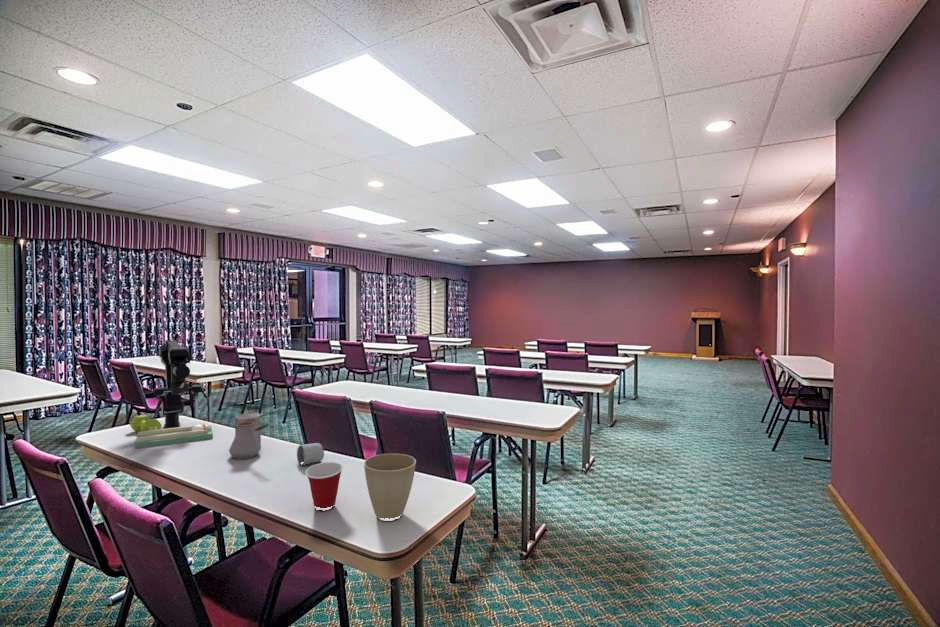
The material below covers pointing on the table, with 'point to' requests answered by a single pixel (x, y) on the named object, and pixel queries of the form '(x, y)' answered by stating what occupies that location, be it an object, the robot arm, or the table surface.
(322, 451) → the ceramic mug
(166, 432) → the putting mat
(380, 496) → the plant pot
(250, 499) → the table surface
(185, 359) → the robot arm
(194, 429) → the golf ball
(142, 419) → the dumbbell
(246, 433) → the coffee pot
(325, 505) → the plastic cup
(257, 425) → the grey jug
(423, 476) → the table surface
